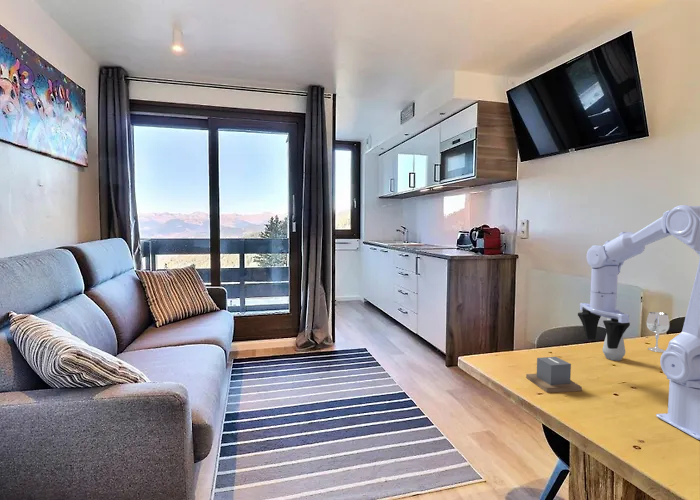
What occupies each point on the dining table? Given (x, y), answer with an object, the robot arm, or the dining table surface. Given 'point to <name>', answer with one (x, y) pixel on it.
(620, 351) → the salt shaker
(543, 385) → the base
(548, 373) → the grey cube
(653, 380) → the dining table surface
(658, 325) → the wineglass
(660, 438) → the dining table surface
